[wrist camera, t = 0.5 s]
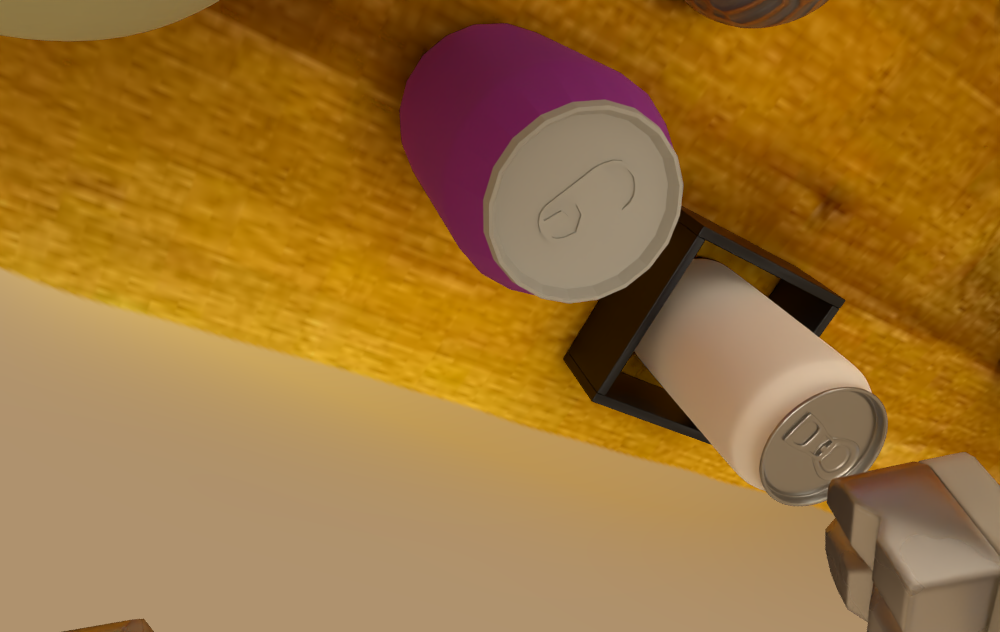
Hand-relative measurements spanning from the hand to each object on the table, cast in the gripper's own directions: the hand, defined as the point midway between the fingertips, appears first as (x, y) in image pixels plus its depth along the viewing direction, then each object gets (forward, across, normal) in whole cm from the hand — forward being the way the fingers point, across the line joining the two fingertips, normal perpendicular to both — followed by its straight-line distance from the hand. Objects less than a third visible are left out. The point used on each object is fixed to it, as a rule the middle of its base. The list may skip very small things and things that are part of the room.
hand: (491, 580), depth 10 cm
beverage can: (+27, -1, +4) cm, 27 cm away
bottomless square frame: (+28, -9, +16) cm, 34 cm away
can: (+28, -9, +16) cm, 34 cm away
